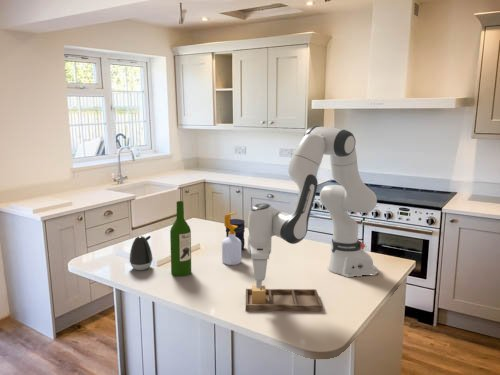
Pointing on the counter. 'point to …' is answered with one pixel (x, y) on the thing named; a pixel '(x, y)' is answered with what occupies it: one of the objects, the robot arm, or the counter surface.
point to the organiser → (286, 300)
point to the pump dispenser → (141, 253)
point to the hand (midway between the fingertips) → (258, 282)
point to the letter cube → (258, 295)
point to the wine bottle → (180, 244)
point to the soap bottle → (231, 245)
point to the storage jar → (238, 230)
